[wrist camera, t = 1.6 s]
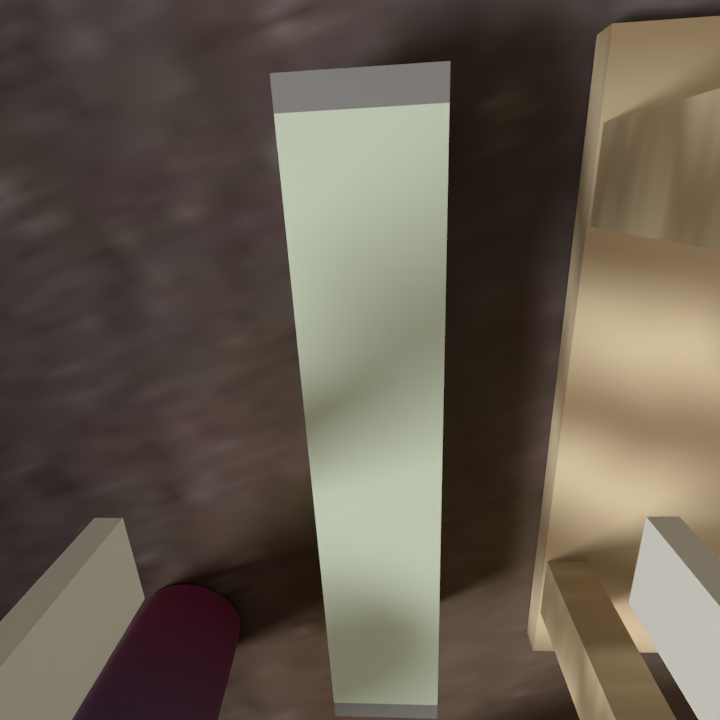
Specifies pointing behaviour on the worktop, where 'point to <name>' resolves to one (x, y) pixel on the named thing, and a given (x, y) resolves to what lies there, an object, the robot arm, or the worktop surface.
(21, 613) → the robot arm
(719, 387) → the bar on post stand
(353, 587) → the rail
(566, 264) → the worktop surface
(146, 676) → the cup
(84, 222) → the worktop surface
